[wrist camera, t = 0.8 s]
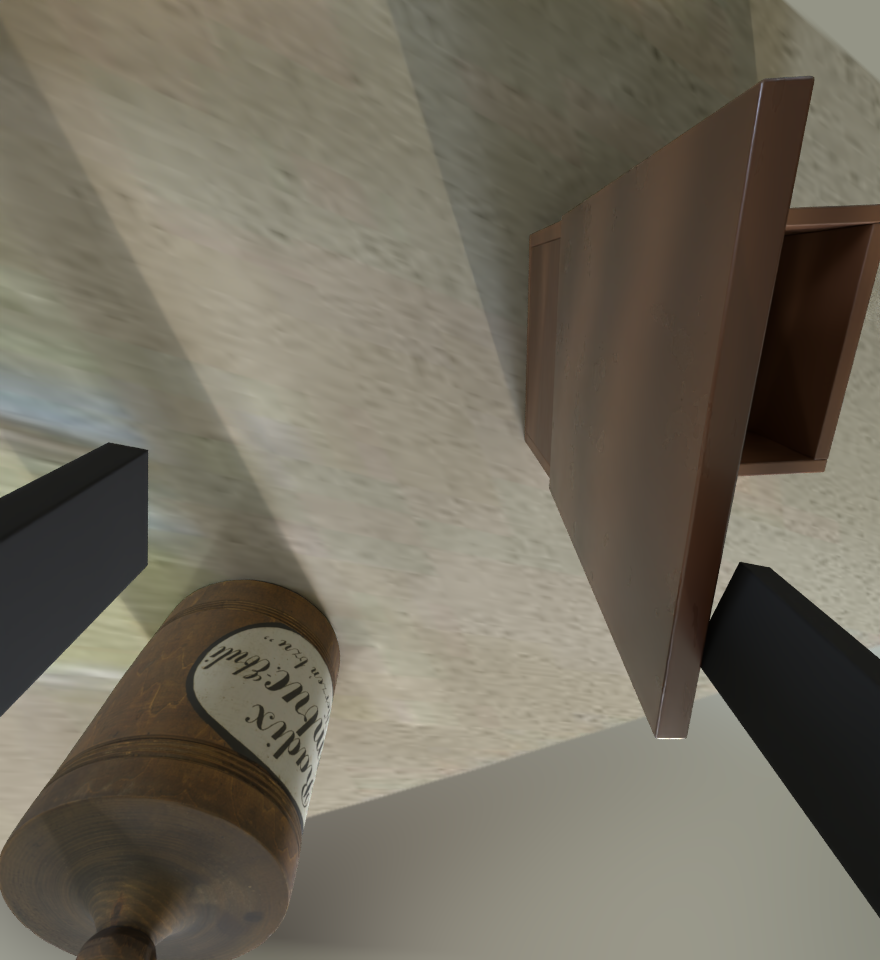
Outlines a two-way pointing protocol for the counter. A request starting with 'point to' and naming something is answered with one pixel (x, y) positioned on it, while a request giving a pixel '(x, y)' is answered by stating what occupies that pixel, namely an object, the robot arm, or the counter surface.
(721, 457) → the lid
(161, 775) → the wooden container
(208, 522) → the counter surface
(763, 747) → the robot arm
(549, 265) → the chest
